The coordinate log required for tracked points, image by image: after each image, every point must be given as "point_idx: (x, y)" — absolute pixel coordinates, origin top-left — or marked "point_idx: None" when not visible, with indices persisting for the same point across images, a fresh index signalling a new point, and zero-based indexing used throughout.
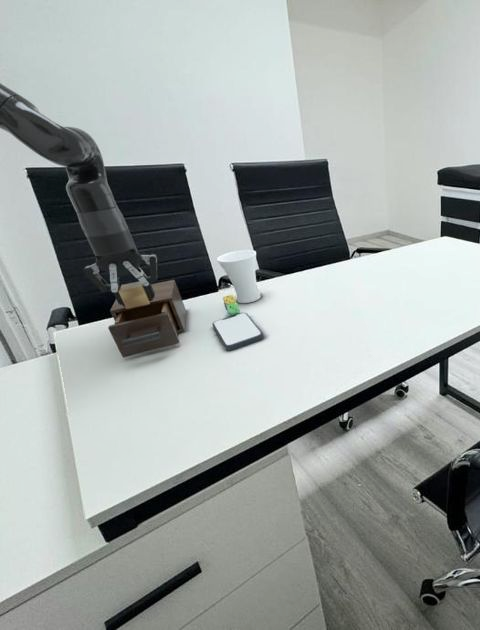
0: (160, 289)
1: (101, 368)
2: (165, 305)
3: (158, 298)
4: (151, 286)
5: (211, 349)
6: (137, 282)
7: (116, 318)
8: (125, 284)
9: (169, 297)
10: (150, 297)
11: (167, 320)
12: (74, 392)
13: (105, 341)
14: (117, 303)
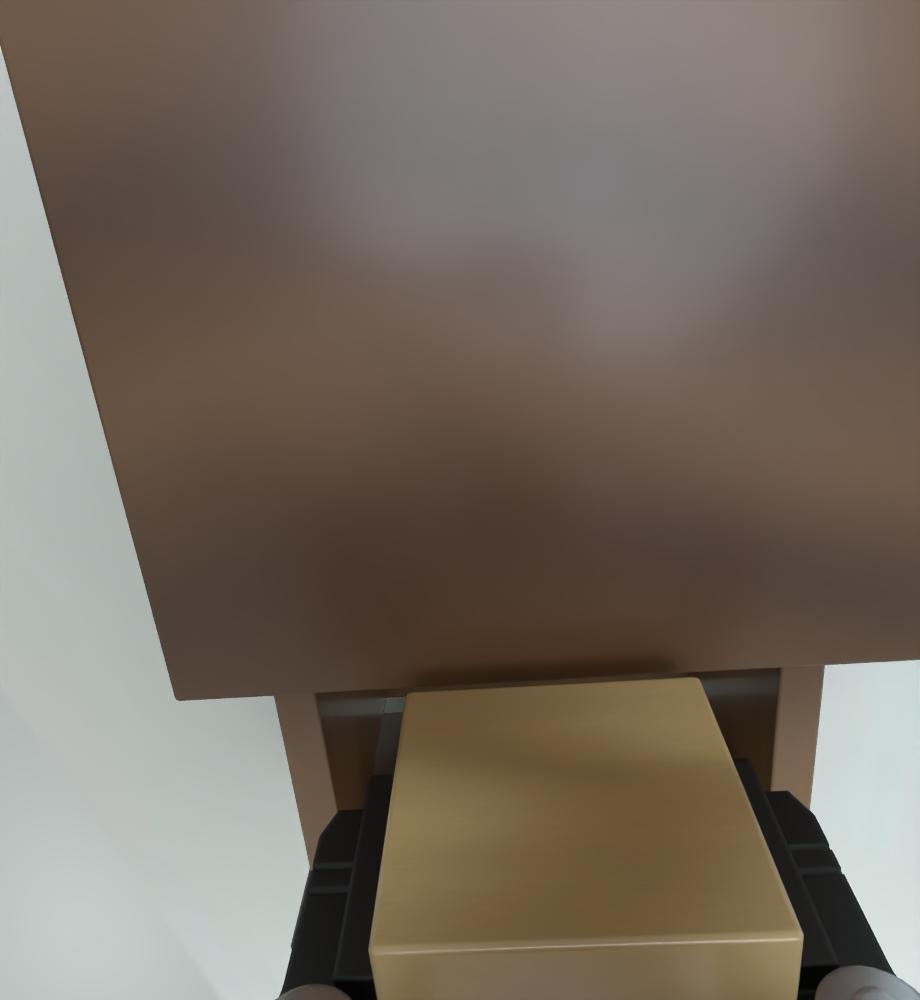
0: (792, 101)
1: (226, 745)
2: (810, 706)
3: (765, 596)
4: (867, 956)
5: (912, 841)
6: (682, 985)
7: (293, 787)
8: (446, 964)
9: (916, 644)
10: None
11: None
12: (182, 924)
13: (42, 269)
14: (168, 464)
